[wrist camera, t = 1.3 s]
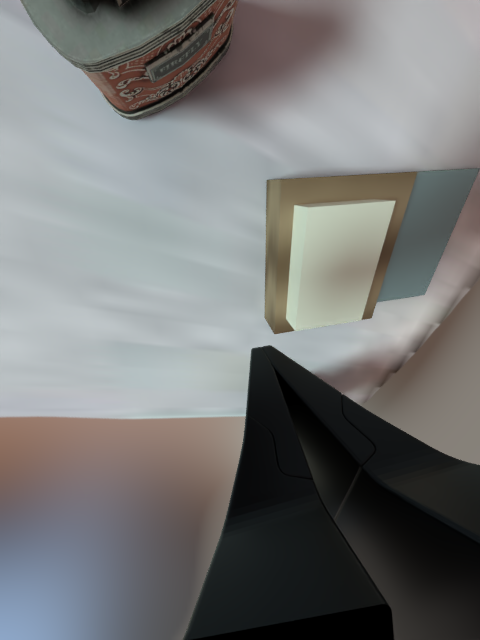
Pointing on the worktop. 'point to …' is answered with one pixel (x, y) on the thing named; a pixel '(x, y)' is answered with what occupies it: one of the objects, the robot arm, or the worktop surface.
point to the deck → (322, 191)
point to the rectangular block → (334, 260)
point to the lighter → (138, 45)
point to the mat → (425, 231)
